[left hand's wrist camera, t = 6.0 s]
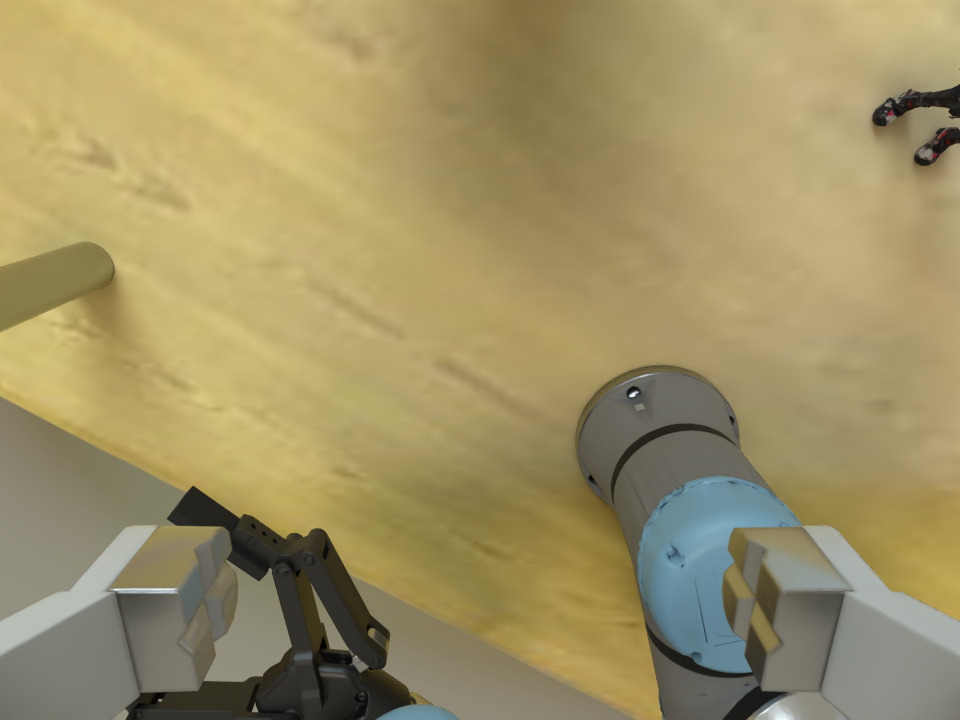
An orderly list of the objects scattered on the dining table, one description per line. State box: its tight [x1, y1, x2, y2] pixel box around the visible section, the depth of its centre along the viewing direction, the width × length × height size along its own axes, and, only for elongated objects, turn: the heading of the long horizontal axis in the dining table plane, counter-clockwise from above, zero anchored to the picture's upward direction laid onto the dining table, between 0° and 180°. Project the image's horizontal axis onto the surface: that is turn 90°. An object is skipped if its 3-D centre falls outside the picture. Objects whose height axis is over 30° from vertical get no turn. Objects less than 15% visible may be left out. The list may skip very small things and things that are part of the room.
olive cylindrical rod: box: [0, 242, 114, 332], centre depth 48 cm, size 4×4×19 cm
